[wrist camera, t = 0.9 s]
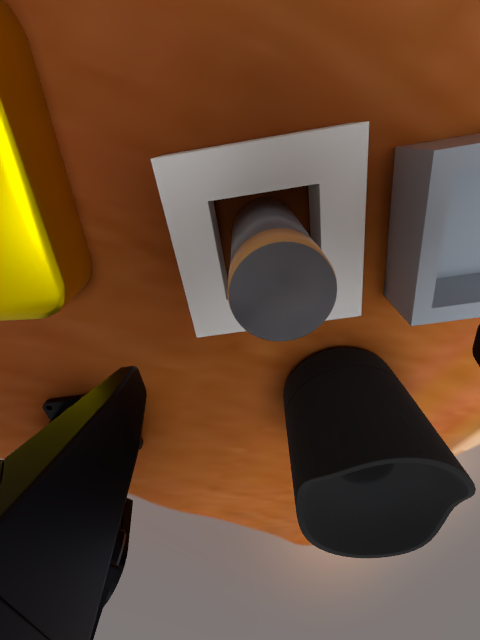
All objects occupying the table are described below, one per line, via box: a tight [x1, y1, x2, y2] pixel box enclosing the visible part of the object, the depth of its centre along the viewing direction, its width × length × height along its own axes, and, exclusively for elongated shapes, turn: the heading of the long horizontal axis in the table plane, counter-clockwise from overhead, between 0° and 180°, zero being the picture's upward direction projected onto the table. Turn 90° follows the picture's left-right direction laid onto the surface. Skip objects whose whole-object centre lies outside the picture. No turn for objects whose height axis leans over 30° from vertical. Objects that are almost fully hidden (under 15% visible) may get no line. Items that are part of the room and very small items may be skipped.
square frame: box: [151, 121, 369, 337], centre depth 19 cm, size 10×10×3 cm
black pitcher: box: [284, 348, 476, 558], centre depth 22 cm, size 9×9×10 cm
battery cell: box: [228, 197, 337, 341], centre depth 16 cm, size 4×4×9 cm
